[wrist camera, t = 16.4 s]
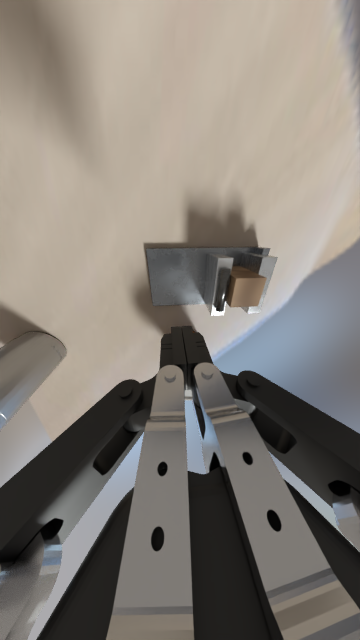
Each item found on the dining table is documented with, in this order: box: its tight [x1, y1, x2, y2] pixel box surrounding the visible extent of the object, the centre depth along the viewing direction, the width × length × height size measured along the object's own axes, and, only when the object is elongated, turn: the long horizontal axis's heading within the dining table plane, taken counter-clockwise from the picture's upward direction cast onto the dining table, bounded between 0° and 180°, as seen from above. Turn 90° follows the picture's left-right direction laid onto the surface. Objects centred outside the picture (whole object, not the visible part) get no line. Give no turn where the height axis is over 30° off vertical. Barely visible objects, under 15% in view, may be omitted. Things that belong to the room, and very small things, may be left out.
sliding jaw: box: [204, 253, 234, 315], centre depth 22 cm, size 2×8×7 cm, turn 0°
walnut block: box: [226, 266, 267, 307], centre depth 22 cm, size 4×4×8 cm
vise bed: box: [146, 247, 278, 314], centre depth 23 cm, size 19×10×7 cm, turn 90°
